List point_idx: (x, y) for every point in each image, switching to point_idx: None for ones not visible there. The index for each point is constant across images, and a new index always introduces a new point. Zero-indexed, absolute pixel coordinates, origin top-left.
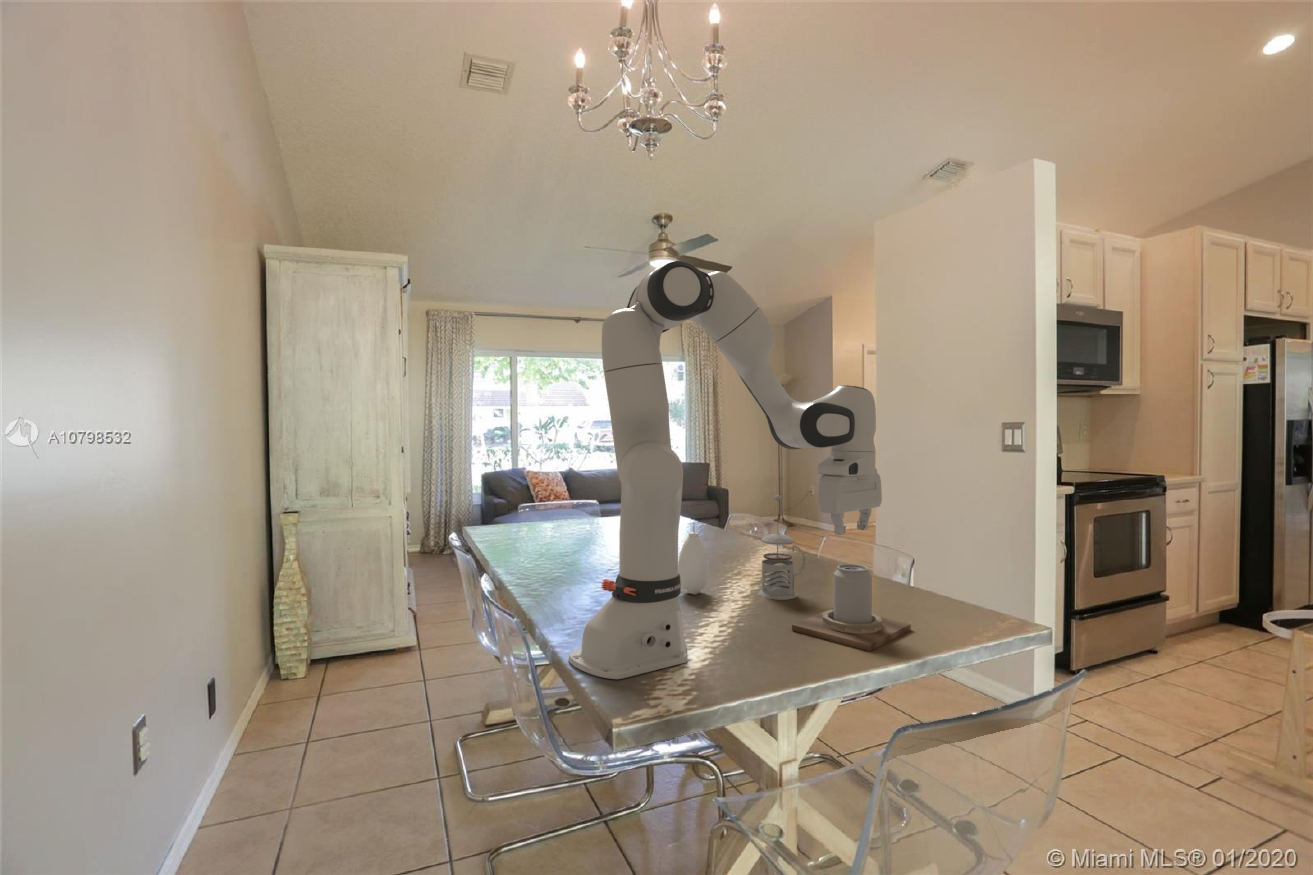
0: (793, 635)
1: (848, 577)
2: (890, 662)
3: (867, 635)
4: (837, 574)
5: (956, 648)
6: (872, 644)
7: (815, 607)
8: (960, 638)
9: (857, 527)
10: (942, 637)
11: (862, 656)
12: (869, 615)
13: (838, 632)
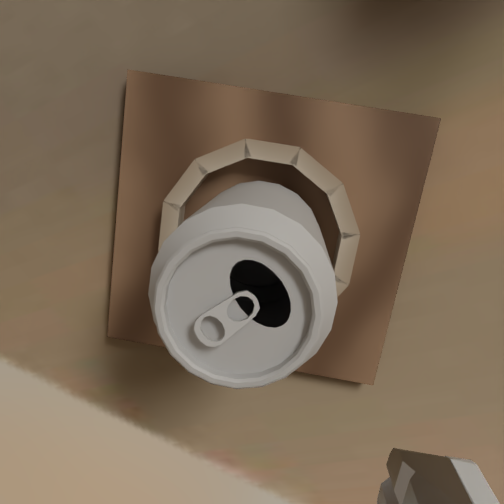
0: (94, 99)
1: (151, 305)
2: (75, 386)
3: None
4: (168, 243)
5: (276, 490)
6: (121, 338)
7: (463, 18)
8: (366, 489)
9: (395, 460)
10: (348, 453)
11: (68, 323)
12: (246, 311)
13: (150, 231)
